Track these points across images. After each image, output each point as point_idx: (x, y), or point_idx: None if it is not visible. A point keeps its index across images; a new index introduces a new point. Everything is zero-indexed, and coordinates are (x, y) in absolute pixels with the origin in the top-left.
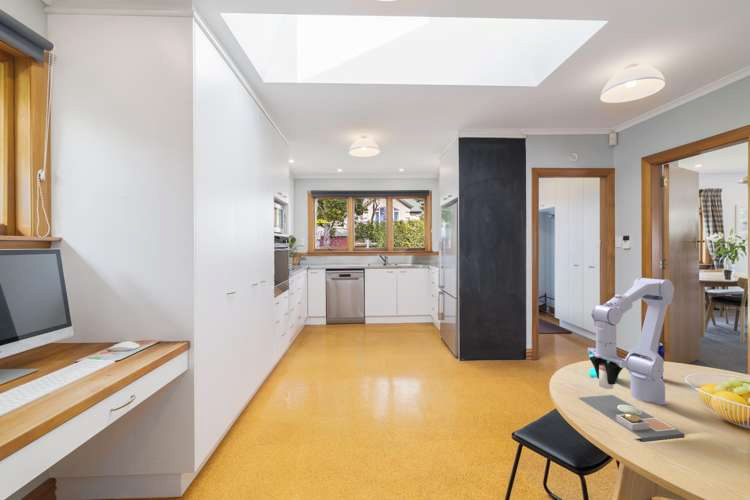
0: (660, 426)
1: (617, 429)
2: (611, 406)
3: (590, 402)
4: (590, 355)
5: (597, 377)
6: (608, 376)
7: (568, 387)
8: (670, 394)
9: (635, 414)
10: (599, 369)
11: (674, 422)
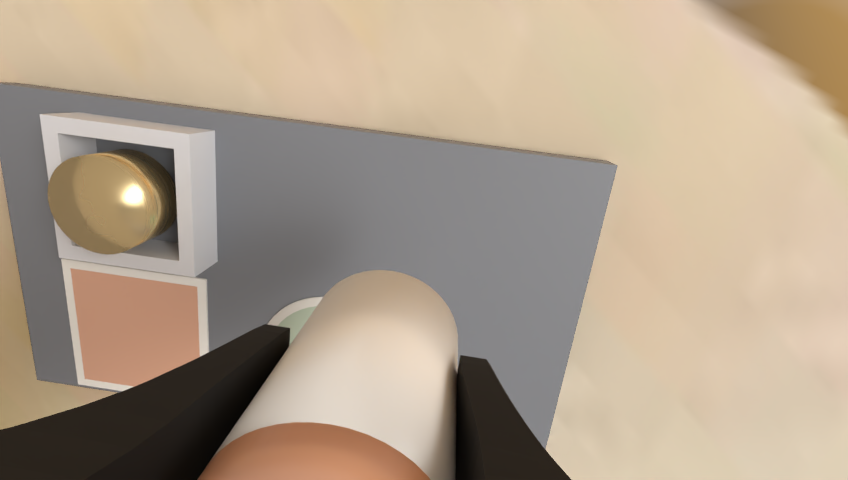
0: (108, 332)
1: (170, 72)
2: None
3: (507, 198)
4: None
5: (484, 361)
6: (194, 373)
7: (832, 302)
8: None
9: (103, 239)
10: (377, 431)
11: None
